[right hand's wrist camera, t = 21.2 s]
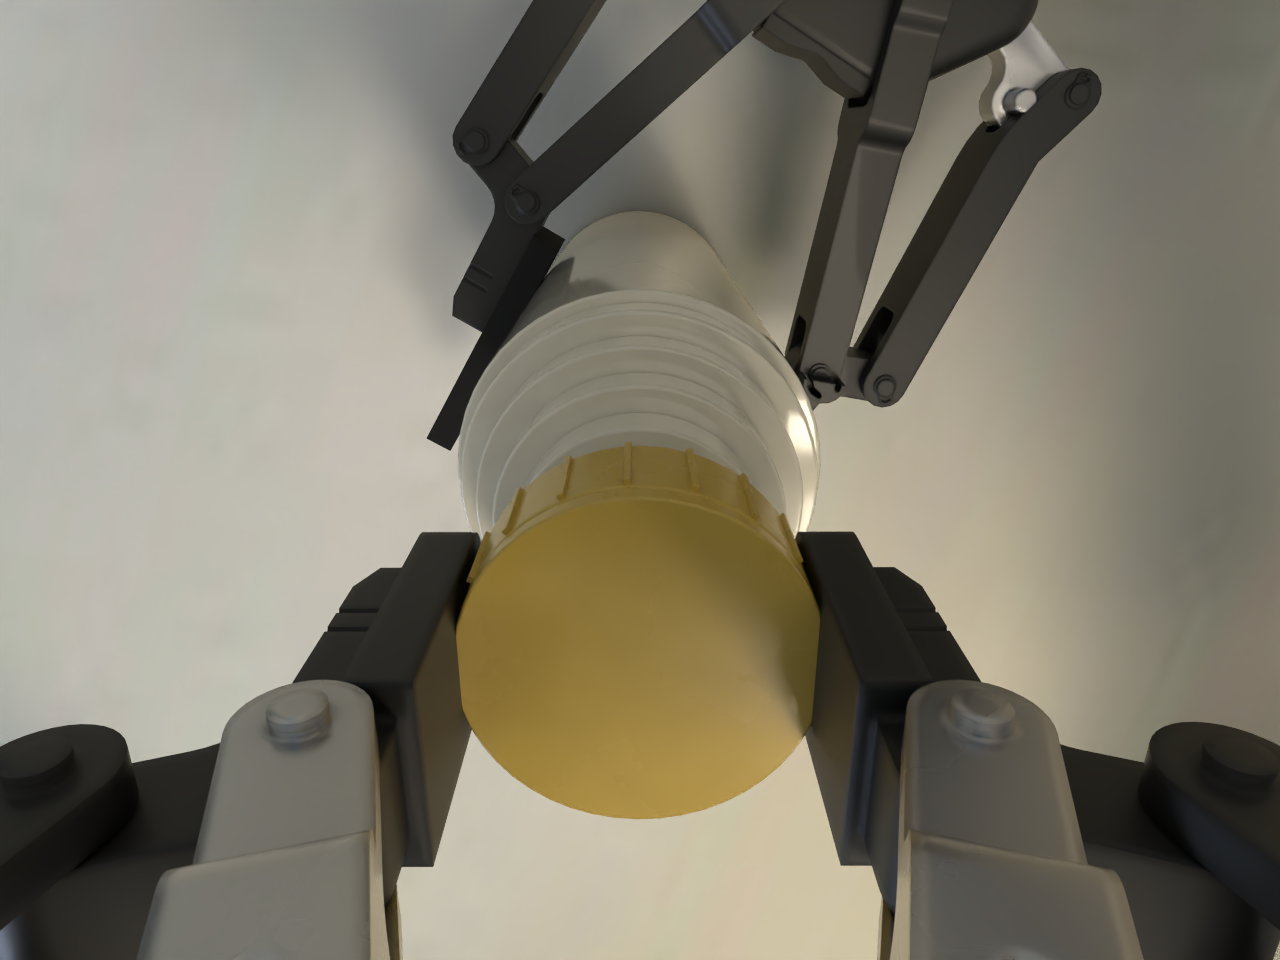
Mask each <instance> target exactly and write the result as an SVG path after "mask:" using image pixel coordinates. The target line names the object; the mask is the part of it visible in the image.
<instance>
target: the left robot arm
mask: <svg viewBox="0 0 1280 960" xmlns="http://www.w3.org/2000/svg"><path fill="white" fill-rule="evenodd" d="M605 2H606V0H533V2H532V3H531V5H530V7H529V8H528V10H527V12H526V13H525V15H524V16H523V18H522V20H521V21H520V23H519V25H518V26H517V28H516V29H515V31H514V33H513V34H512V36H511V38H510V39H509V41H508V43H507V44H506V46H505V47H504V49H503V51H502V52H501V54H500V56H499V57H498V59H497V60H496V62H495V64H494V65H493V67H492V69H491V70H490V72H489V74H488V75H487V77H486V78H485V80H484V82H483V83H482V85H481V87H480V88H479V90H478V91H477V93H476V95H475V96H474V98H473V100H472V101H471V103H470V105H469V106H468V108H467V109H466V111H465V113H464V114H463V116H462V118H461V119H460V121H459V122H458V124H457V126H456V128H455V131H454V133H453V146H454V149H455V151H456V154H457V155H458V156H459V157H460V158H461V159H462V160H463V162H465V163H468V164H469V165H470V166H471V167H472V169H473V170H474V171H475V172H476V173H477V175H478V176H479V177H480V178H481V179H482V180H483V182H484V183H485V184H486V185H487V187H488V188H489V189H490V191H491V193H492V195H493V198H494V203H495V212H494V216H493V219H492V222H491V224H490V226H489V228H488V230H487V232H486V234H485V236H484V238H483V240H482V242H481V244H480V246H479V248H478V249H477V251H476V253H475V255H474V257H473V259H472V261H471V264H470V266H469V267H468V269H467V271H466V273H465V275H464V278H463V279H462V281H461V283H460V285H459V287H458V289H457V291H456V293H455V295H454V300H453V314H452V316H454V317H456V318H457V319H459V320H461V321H463V322H465V323H466V324H468V325H470V326H472V327H474V328H475V329H477V330H479V331H481V332H482V334H481V336H480V338H479V340H478V341H477V343H476V345H475V347H474V349H473V351H472V353H471V355H470V357H469V359H468V360H467V362H466V364H465V366H464V368H463V370H462V372H461V374H460V376H459V378H458V380H457V381H456V383H455V385H454V387H453V389H452V391H451V393H450V395H449V397H448V399H447V400H446V402H445V404H444V406H443V408H442V410H441V412H440V414H439V416H438V418H437V420H436V421H435V423H434V425H433V427H432V429H431V431H430V433H429V435H428V437H427V439H429V440H431V441H433V442H434V443H436V444H438V445H440V446H442V447H444V448H446V449H448V450H451V449H452V447H453V445H454V443H455V442H456V440H457V438H458V436H459V435H460V431H461V427H462V423H463V419H464V415H465V411H466V408H467V406H468V403H469V401H470V398H471V395H472V393H473V390H474V388H475V387H476V385H477V383H478V381H479V380H480V378H481V376H482V374H483V373H484V371H485V369H486V368H487V366H488V364H489V363H490V361H491V360H492V358H493V357H494V355H495V354H496V352H497V351H498V349H499V347H500V346H501V344H502V343H503V341H504V340H505V338H506V337H507V335H508V334H509V332H510V331H511V329H512V327H513V326H514V324H515V323H516V321H517V320H518V318H519V317H520V315H521V314H522V312H523V310H524V309H525V307H526V306H527V304H528V303H529V301H530V300H531V298H532V297H533V295H534V294H535V292H536V290H537V289H538V287H539V286H540V284H541V283H542V281H543V279H544V278H545V276H546V274H547V272H548V270H549V268H550V266H551V265H552V263H553V261H554V259H555V257H556V255H557V253H558V252H559V250H560V248H561V246H562V244H563V242H564V240H565V239H563V238H562V237H560V236H558V235H557V234H555V233H553V232H552V231H550V230H548V229H547V228H545V227H543V226H544V224H545V222H546V220H547V218H548V216H549V214H550V212H552V211H553V210H554V209H555V208H556V207H557V206H558V205H559V204H560V203H561V202H563V201H564V200H565V199H566V198H567V197H568V196H569V195H570V194H571V193H573V192H574V191H575V190H576V189H577V188H578V187H579V186H580V185H581V184H583V183H584V182H585V181H586V180H587V179H588V178H589V177H590V176H591V175H593V174H594V173H595V172H596V171H597V170H598V169H599V168H600V167H601V166H603V165H604V164H605V163H606V162H607V161H608V160H609V159H610V158H611V157H613V156H614V155H615V154H616V153H617V152H618V151H619V150H620V149H621V148H623V147H624V146H625V145H626V144H627V143H628V142H629V141H630V140H631V139H633V138H634V137H635V136H636V135H637V134H638V133H639V132H640V131H641V130H643V129H644V128H645V127H646V126H647V125H648V124H649V123H650V122H651V121H652V120H654V119H655V118H656V117H657V116H658V115H659V114H660V113H661V112H662V111H664V110H665V109H666V108H667V107H668V106H669V105H670V104H671V103H672V102H674V101H675V100H676V99H677V98H678V97H679V96H680V95H681V94H682V93H684V92H685V91H686V90H687V89H688V88H689V87H690V86H691V85H692V84H694V83H695V82H696V81H697V80H698V79H699V78H700V77H701V76H702V75H704V74H705V73H706V72H707V71H708V70H709V69H710V68H711V67H712V66H714V65H715V64H716V63H717V62H718V61H719V60H720V59H721V58H722V57H724V56H725V55H726V54H727V53H728V52H729V51H730V50H731V49H732V48H734V47H735V46H736V45H737V44H738V43H739V42H740V41H741V40H743V39H744V38H745V37H746V36H747V35H748V34H749V33H750V32H751V31H754V33H753V35H752V36H753V37H754V38H756V39H757V40H759V41H760V42H762V43H763V44H765V45H766V46H768V47H769V48H771V49H772V50H774V51H775V52H778V53H782V54H785V55H788V56H791V57H795V58H798V59H801V60H803V61H805V62H806V63H807V65H808V66H809V67H810V68H811V69H812V71H813V72H814V73H815V74H816V75H817V77H818V78H819V79H820V80H821V81H822V83H823V84H825V85H826V86H828V87H829V88H831V89H832V90H834V91H835V92H836V93H838V94H839V95H841V96H842V97H844V98H845V100H844V104H843V108H842V112H841V116H840V120H839V125H838V143H837V147H836V151H835V155H834V159H833V163H832V167H831V171H830V175H829V179H828V183H827V187H826V191H825V195H824V199H823V203H822V207H821V211H820V215H819V219H818V223H817V227H816V231H815V235H814V239H813V243H812V247H811V251H810V255H809V259H808V263H807V267H806V271H805V275H804V279H803V283H802V287H801V291H800V295H799V299H798V303H797V307H796V311H795V315H794V319H793V323H792V327H791V331H790V335H789V339H788V343H787V347H786V351H785V358H786V360H787V361H788V363H789V365H790V366H791V368H792V369H793V371H794V372H795V374H796V375H797V377H798V378H799V380H800V382H801V384H802V386H803V388H804V390H805V392H806V394H807V397H808V399H809V401H810V404H811V408H812V411H813V410H814V409H815V408H816V407H817V405H818V404H819V403H829V402H832V401H834V400H836V399H837V398H839V397H840V396H842V397H849V398H854V399H860V400H866V401H869V402H870V403H871V404H873V405H874V406H879V407H887V406H891V405H893V404H894V403H896V402H898V401H899V399H900V398H901V397H902V396H903V394H904V393H905V391H906V389H907V388H908V386H909V384H910V382H911V381H912V379H913V377H914V375H915V374H916V372H917V370H918V369H919V367H920V365H921V363H922V362H923V360H924V358H925V356H926V355H927V353H928V351H929V350H930V348H931V346H932V344H933V343H934V341H935V339H936V337H937V336H938V334H939V332H940V331H941V329H942V327H943V325H944V324H945V322H946V320H947V318H948V317H949V315H950V313H951V312H952V310H953V308H954V306H955V305H956V303H957V301H958V299H959V298H960V296H961V294H962V293H963V291H964V289H965V287H966V286H967V284H968V282H969V280H970V279H971V277H972V275H973V273H974V272H975V270H976V268H977V267H978V265H979V263H980V261H981V260H982V258H983V256H984V254H985V253H986V251H987V249H988V248H989V246H990V244H991V242H992V241H993V239H994V237H995V235H996V234H997V232H998V230H999V229H1000V227H1001V225H1002V223H1003V222H1004V220H1005V218H1006V216H1007V215H1008V213H1009V211H1010V210H1011V208H1012V206H1013V204H1014V203H1015V201H1016V199H1017V197H1018V196H1019V194H1020V192H1021V191H1022V189H1023V187H1024V185H1025V184H1026V182H1027V180H1028V178H1029V177H1030V175H1031V173H1032V172H1033V170H1034V168H1035V166H1036V165H1037V163H1038V162H1039V161H1040V160H1041V159H1042V158H1043V157H1044V156H1045V155H1046V154H1047V153H1048V152H1049V151H1050V150H1051V149H1052V148H1054V147H1055V146H1056V145H1057V144H1058V143H1059V142H1060V141H1061V140H1062V139H1063V138H1064V137H1065V136H1066V135H1067V134H1069V133H1070V132H1071V131H1072V130H1073V129H1074V128H1075V127H1076V126H1077V125H1078V124H1079V123H1080V122H1081V121H1082V120H1084V119H1085V118H1086V117H1087V116H1088V115H1089V114H1090V113H1091V112H1092V111H1093V109H1094V108H1095V107H1096V106H1097V104H1098V102H1099V99H1100V96H1101V82H1100V80H1099V78H1098V76H1097V75H1096V74H1095V73H1094V72H1093V71H1091V70H1089V69H1084V68H1078V69H1071V70H1070V69H1069V68H1068V67H1067V66H1066V65H1065V64H1064V62H1063V61H1062V60H1061V58H1060V57H1059V56H1058V54H1057V53H1056V52H1055V51H1054V49H1053V48H1052V47H1051V45H1050V44H1049V43H1048V41H1047V40H1046V39H1045V37H1044V36H1043V35H1042V34H1041V32H1040V31H1039V30H1038V28H1037V27H1036V26H1035V24H1034V23H1033V22H1032V20H1031V19H1032V18H1033V15H1034V13H1035V11H1036V8H1037V4H1038V0H707V1H706V2H705V3H704V4H703V6H702V7H701V8H700V9H699V10H698V11H697V12H696V13H695V14H693V15H692V16H691V17H690V18H689V19H688V20H687V21H686V22H685V23H684V24H683V25H682V26H681V27H679V28H678V29H677V30H676V31H675V32H674V33H673V34H672V35H671V36H670V37H669V38H668V39H666V40H665V41H664V42H663V43H662V44H661V45H660V46H659V47H658V48H657V49H656V50H655V51H653V52H652V53H651V54H650V55H649V56H648V57H647V58H646V59H645V60H644V61H643V62H642V63H641V64H639V65H638V66H637V67H636V68H635V69H634V70H633V71H632V72H631V73H630V74H629V75H628V76H626V77H625V78H624V79H623V80H622V81H621V82H620V83H619V84H618V85H617V86H616V87H615V88H613V89H612V90H611V91H610V92H609V93H608V94H607V95H606V96H605V97H604V98H603V99H602V100H600V101H599V102H598V103H597V104H596V105H595V106H594V107H593V108H592V109H591V110H590V111H589V112H587V113H586V114H585V115H584V116H583V117H582V118H581V119H580V120H579V121H578V122H577V123H576V124H574V125H573V126H572V127H571V128H570V129H569V130H568V131H567V132H566V133H565V134H564V135H563V136H561V137H560V138H559V139H558V140H557V141H556V142H555V143H554V144H553V145H552V146H551V147H550V148H548V149H547V150H546V151H545V152H544V153H543V154H542V155H541V156H540V157H539V158H538V159H537V160H536V161H534V162H533V161H532V160H531V159H530V157H529V156H528V155H527V154H526V153H525V151H524V150H523V149H522V148H521V147H520V145H519V144H518V143H517V142H516V141H517V139H518V138H519V136H520V135H521V133H522V132H523V130H524V128H525V127H526V125H527V124H528V122H529V121H530V119H531V118H532V116H533V114H534V113H535V111H536V110H537V108H538V107H539V105H540V103H541V102H542V100H543V99H544V97H545V96H546V94H547V92H548V91H549V89H550V88H551V86H552V85H553V83H554V82H555V80H556V78H557V77H558V75H559V74H560V72H561V71H562V69H563V67H564V66H565V64H566V63H567V61H568V60H569V58H570V57H571V55H572V53H573V52H574V50H575V49H576V47H577V46H578V44H579V42H580V41H581V39H582V38H583V36H584V35H585V33H586V31H587V30H588V28H589V27H590V25H591V24H592V22H593V21H594V19H595V17H596V16H597V14H598V13H599V11H600V10H601V8H602V6H603V5H604V3H605ZM987 54H988V56H989V58H990V59H991V63H992V75H991V78H990V81H989V83H988V85H987V86H986V88H985V90H984V91H983V93H982V94H981V97H980V100H979V111H980V115H981V117H982V118H983V120H984V121H983V122H982V123H981V124H980V125H979V126H978V127H977V129H976V130H975V131H974V133H973V134H972V135H971V137H970V138H969V139H968V140H967V142H966V143H965V145H964V147H963V148H962V150H961V151H960V153H959V155H958V156H957V158H956V160H955V162H954V163H953V165H952V167H951V169H950V171H949V173H948V174H947V176H946V178H945V180H944V182H943V184H942V185H941V187H940V189H939V191H938V193H937V195H936V196H935V198H934V200H933V202H932V204H931V206H930V207H929V209H928V211H927V213H926V215H925V217H924V218H923V220H922V222H921V224H920V226H919V228H918V229H917V231H916V233H915V235H914V237H913V239H912V240H911V242H910V244H909V246H908V248H907V249H906V251H905V253H904V255H903V257H902V259H901V260H900V262H899V264H898V266H897V268H896V270H895V271H894V273H893V275H892V277H891V279H890V281H889V282H888V284H887V286H886V288H885V290H884V292H883V293H882V295H881V297H880V299H879V301H878V303H877V304H876V306H875V308H874V310H873V312H872V314H871V315H870V317H869V319H868V321H867V323H866V325H865V326H864V328H863V330H862V332H861V334H860V335H859V337H858V339H857V341H856V343H855V345H854V346H853V347H849V346H850V342H851V338H852V335H853V331H854V328H855V324H856V320H857V317H858V313H859V310H860V306H861V302H862V299H863V295H864V291H865V288H866V284H867V281H868V277H869V273H870V270H871V266H872V263H873V259H874V255H875V252H876V248H877V244H878V241H879V237H880V234H881V230H882V226H883V223H884V219H885V216H886V212H887V208H888V205H889V201H890V197H891V194H892V190H893V187H894V183H895V179H896V176H897V172H898V169H899V165H900V161H901V158H902V155H903V152H904V150H905V148H906V146H907V145H908V144H909V142H910V140H911V138H912V136H913V134H914V131H915V128H916V124H917V121H918V117H919V114H920V110H921V107H922V103H923V99H924V96H925V92H926V89H927V85H928V81H930V80H933V79H935V78H937V77H939V76H941V75H943V74H946V73H948V72H950V71H952V70H954V69H956V68H959V67H961V66H963V65H965V64H967V63H970V62H972V61H974V60H976V59H978V58H980V57H983V56H985V55H987Z"/></svg>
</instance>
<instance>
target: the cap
mask: <svg viewBox="0 0 1280 960" xmlns="http://www.w3.org/2000/svg"><path fill="white" fill-rule="evenodd" d="M802 562H803V559H802V556H801V553H800V551H799V548H798V546H797V543H796V540H795V538H794V535H793V533H792V530H791V527H790V525H789V522H788V520H787V517H786V516H785V514H784V513H782V514H780V515H779V514H778V512H777V511H776V509H775V508H774V507H773V506H772V505H771V504H770V502H769V501H768V500H767V499H766V498H765V497H764V495H762V494H761V493H760V492H759V491H758V490H757V489H756V488H755V487H753V486H752V485H751V484H750V483H749V480H748V477H747V475H745V474H744V473H742V474H741V475H740V476H739V475H737V474H736V473H734V472H733V471H731V470H730V469H728V468H726V467H724V466H722V465H720V464H718V463H716V462H714V461H712V460H710V459H707V458H704V457H702V456H698V455H696V454H694V452H693V449H690V448H687V449H686V452H685V451H680V450H675V449H671V448H665V447H652V446H632V443H631V442H625V447H617V448H611V449H605V450H599V451H595V452H592V453H589V454H585V455H582V456H579V457H576V458H574V459H573V458H572V456H571V455H570V456H567V457H565V460H564V463H562V464H560V465H558V466H556V467H554V468H553V469H551V470H549V471H548V472H546V473H544V474H543V475H541V476H540V477H538V478H537V479H535V480H534V481H533V482H532V483H531V484H529V485H528V486H527V487H526V488H524V489H522V488H521V487H519V488H518V489H517V490H516V491H515V494H514V497H513V500H512V502H511V503H510V504H509V505H508V506H507V507H506V509H505V510H504V511H503V513H502V514H501V516H500V517H499V519H498V520H497V521H496V523H495V525H494V527H493V529H492V531H491V533H490V532H487V531H486V532H485V534H484V536H483V539H482V541H481V544H480V547H479V549H478V552H477V554H476V557H475V560H474V562H473V565H472V567H471V570H470V572H469V575H468V578H467V580H466V582H468V583H470V586H469V589H468V592H467V594H466V597H465V600H464V602H463V605H462V608H461V611H460V614H459V617H458V620H457V623H456V641H457V653H458V664H459V676H460V687H461V699H462V708H463V712H464V714H465V716H466V718H467V721H468V723H469V725H470V727H471V729H472V730H473V732H474V733H475V735H476V736H477V738H478V739H479V741H480V743H481V744H482V746H483V747H484V748H485V749H486V750H487V751H488V753H489V754H490V755H491V756H492V757H493V758H494V760H495V761H496V762H497V763H498V764H499V765H501V766H502V767H503V768H504V769H505V770H506V771H507V772H508V773H509V774H511V775H512V776H513V777H514V778H516V779H517V780H519V781H520V782H521V783H523V784H524V785H526V786H527V787H529V788H530V789H532V790H534V791H535V792H537V793H539V794H541V795H543V796H545V797H546V798H548V799H550V800H553V801H555V802H558V803H560V804H563V805H565V806H568V807H570V808H574V809H577V810H581V811H584V812H588V813H591V814H597V815H602V816H608V817H614V818H628V819H652V818H665V817H672V816H679V815H684V814H688V813H692V812H696V811H700V810H704V809H707V808H709V807H712V806H715V805H717V804H720V803H723V802H725V801H727V800H729V799H731V798H733V797H735V796H737V795H739V794H741V793H743V792H745V791H747V790H748V789H750V788H751V787H753V786H754V785H756V784H757V783H759V782H761V781H762V780H763V779H765V778H766V777H767V776H768V775H769V774H771V773H772V772H773V771H774V770H775V769H777V768H778V767H779V766H780V765H781V764H782V763H783V762H784V761H785V760H786V759H787V757H788V756H789V755H790V754H791V753H792V752H793V751H794V750H795V748H796V747H797V746H798V744H799V743H800V741H801V740H802V738H803V737H804V736H805V734H806V733H807V731H808V729H809V727H810V725H811V722H812V711H813V699H814V688H815V676H816V664H817V652H818V641H819V629H820V608H819V606H818V603H817V601H816V598H815V596H814V593H813V590H812V587H811V585H810V582H809V580H808V577H807V574H806V572H805V569H804V566H803V564H802Z"/></svg>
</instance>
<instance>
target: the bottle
mask: <svg viewBox="0 0 1280 960" xmlns="http://www.w3.org/2000/svg"><path fill="white" fill-rule="evenodd" d="M625 442H631V443H632V446H652V447H665V448H671V449H675V450H680V451H685V452H686V449H687V448H690V449H693V452H694V454H696V455H698V456H702V457H704V458H707V459H710V460H712V461H714V462H716V463H718V464H720V465H722V466H724V467H726V468H728V469H730V470H731V471H733V472H734V473H736V474H737V475H739V476H740V475H741V474H742V473H744V474H745V475H747V477H748V480H749V483H750V484H751V485H752V486H753V487H755V488H756V489H757V490H758V491H759V492H760V493H761V494H762V495H764V497H765V498H766V499H767V500H768V501H769V502H770V504H771V505H772V506H773V507H774V508H775V509H776V511H777V512H778V514H779V515H780V514H782V513H784V514H785V516H786V517H787V520H788V522H789V525H790V527H791V530H792V533H793V535H794V538H795V537H796V534H797V533H798V532H807V531H808V529H809V526H810V523H811V519H812V516H813V512H814V508H815V504H816V495H817V489H818V481H819V472H820V443H819V437H818V431H817V425H816V420H815V417H814V414H813V411H812V408H811V404H810V401H809V399H808V397H807V394H806V392H805V390H804V388H803V386H802V384H801V382H800V380H799V378H798V377H797V375H796V374H795V372H794V371H793V369H792V368H791V366H790V365H789V363H788V361H787V360H786V358H785V357H784V355H783V354H782V352H781V351H780V349H779V348H778V346H777V345H776V343H775V342H774V340H773V339H772V337H771V336H770V334H769V333H768V331H767V330H766V328H765V327H764V325H763V324H762V322H761V321H760V319H759V318H758V316H757V315H756V313H755V312H754V310H753V309H752V307H751V306H750V304H749V303H748V301H747V300H746V298H745V297H744V295H743V294H742V292H741V291H740V289H739V288H738V286H737V285H736V283H735V282H734V280H733V279H732V277H731V276H730V274H729V273H728V271H727V270H726V268H725V267H724V265H723V264H722V262H721V260H720V259H719V257H718V256H717V254H716V253H715V252H714V250H713V249H712V247H711V246H710V245H709V244H708V242H707V241H706V240H705V239H704V238H703V237H702V236H701V235H700V234H698V233H697V232H696V231H695V230H694V229H692V228H691V227H689V226H688V225H686V224H685V223H683V222H681V221H679V220H677V219H674V218H672V217H669V216H666V215H663V214H660V213H654V212H648V211H630V212H622V213H618V214H613V215H610V216H607V217H605V218H602V219H600V220H598V221H596V222H594V223H592V224H590V225H589V226H587V227H586V228H584V229H583V230H582V231H580V232H579V233H578V234H577V235H576V236H575V237H574V238H573V239H572V240H571V241H570V242H569V243H568V244H567V245H566V247H565V248H564V249H563V251H562V252H561V253H560V255H559V257H558V258H557V260H556V261H555V263H554V264H553V266H552V267H551V269H550V270H549V272H548V274H547V275H546V277H545V278H544V280H543V281H542V283H541V284H540V286H539V287H538V289H537V290H536V292H535V294H534V295H533V297H532V298H531V300H530V301H529V303H528V304H527V306H526V307H525V309H524V310H523V312H522V314H521V315H520V317H519V318H518V320H517V321H516V323H515V324H514V326H513V327H512V329H511V331H510V332H509V334H508V335H507V337H506V338H505V340H504V341H503V343H502V344H501V346H500V347H499V349H498V351H497V352H496V354H495V355H494V357H493V358H492V360H491V361H490V363H489V364H488V366H487V368H486V369H485V371H484V373H483V374H482V376H481V378H480V380H479V381H478V383H477V385H476V387H475V388H474V390H473V393H472V395H471V398H470V401H469V403H468V406H467V408H466V411H465V415H464V419H463V423H462V427H461V431H460V439H459V450H458V467H459V480H460V486H461V493H462V499H463V505H464V510H465V515H466V518H467V521H468V524H469V527H470V530H471V532H477V533H478V534H479V536H480V540H481V541H482V539H483V536H484V534H485V532H486V531H487V532H490V533H491V531H492V529H493V527H494V525H495V523H496V521H497V520H498V519H499V517H500V516H501V514H502V513H503V511H504V510H505V509H506V507H507V506H508V505H509V504H510V503H511V502H512V500H513V497H514V494H515V491H516V490H517V489H518V488H519V487H521V488H522V489H524V488H526V487H527V486H528V485H529V484H531V483H532V482H533V481H534V480H535V479H537V478H538V477H540V476H541V475H543V474H544V473H546V472H548V471H549V470H551V469H553V468H554V467H556V466H558V465H560V464H562V463H564V460H565V457H567V456H570V455H571V456H572V458H573V459H574V458H576V457H579V456H582V455H585V454H589V453H592V452H595V451H599V450H605V449H611V448H617V447H625Z"/></svg>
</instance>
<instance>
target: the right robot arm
mask: <svg viewBox="0 0 1280 960" xmlns="http://www.w3.org/2000/svg"><path fill="white" fill-rule="evenodd" d="M795 540H796V543H797V546H798V548H799V551H800V553H801V556H802V559H803V562H802V564H803V566H804V569H805V572H806V574H807V577H808V580H809V582H810V585H811V587H812V590H813V593H814V596H815V598H816V601H817V603H818V606H819V608H820V629H819V641H818V652H817V664H816V676H815V688H814V699H813V711H812V722H811V725H810V727H809V729H808V731H807V733H806V734H805V736H806V740H807V743H808V747H809V751H810V754H811V758H812V762H813V765H814V769H815V773H816V776H817V780H818V784H819V787H820V791H821V795H822V798H823V802H824V806H825V809H826V813H827V817H828V820H829V824H830V828H831V831H832V835H833V839H834V842H835V846H836V850H837V853H838V857H839V861H840V864H841V865H843V866H872V867H873V870H874V874H875V877H876V880H877V883H878V886H879V889H880V892H881V894H882V900H881V908H880V915H879V932H878V952H877V960H1273V958H1274V955H1275V952H1276V949H1277V947H1278V944H1279V941H1280V746H1279V745H1277V744H1275V743H1273V742H1271V741H1268V740H1266V739H1264V738H1261V737H1259V736H1257V735H1254V734H1251V733H1248V732H1245V731H1242V730H1239V729H1236V728H1232V727H1228V726H1223V725H1218V724H1212V723H1203V722H1181V723H1175V724H1171V725H1168V726H1165V727H1162V728H1161V729H1159V730H1158V731H1156V732H1155V733H1154V735H1153V736H1152V737H1151V740H1150V743H1149V747H1148V751H1147V755H1146V759H1145V763H1143V762H1138V761H1133V760H1128V759H1123V758H1118V757H1113V756H1108V755H1103V754H1098V753H1093V752H1088V751H1084V750H1079V749H1075V748H1071V747H1067V746H1064V745H1061V744H1060V743H1059V738H1058V734H1057V731H1056V728H1055V726H1054V724H1053V723H1052V721H1051V720H1050V718H1049V717H1048V716H1047V715H1046V714H1045V713H1044V712H1043V711H1042V710H1041V709H1040V708H1039V707H1038V706H1036V705H1035V704H1034V703H1032V702H1031V701H1029V700H1027V699H1026V698H1024V697H1022V696H1020V695H1018V694H1016V693H1014V692H1012V691H1009V690H1007V689H1004V688H1002V687H998V686H995V685H991V684H988V683H983V682H981V681H980V679H979V677H978V676H977V674H976V673H975V671H974V669H973V668H972V666H971V665H970V663H969V661H968V660H967V658H966V657H965V655H964V653H963V652H962V650H961V648H960V647H959V645H958V644H957V642H956V640H955V639H954V637H953V636H952V634H951V632H950V631H947V626H946V624H945V623H944V621H943V619H942V618H941V616H940V615H939V613H938V612H935V606H934V605H933V603H932V602H931V600H930V598H929V597H928V595H927V594H926V592H925V590H924V589H923V587H922V586H921V585H920V584H918V583H917V582H915V581H914V580H912V579H911V578H909V577H908V576H906V575H905V574H903V573H902V572H901V571H899V570H898V569H896V568H895V567H873V566H872V564H871V562H870V561H869V559H868V557H867V555H866V553H865V551H864V549H863V548H862V546H861V544H860V542H859V540H858V538H857V536H856V535H855V533H854V532H798V533H797V534H796V537H795ZM480 544H481V540H480V536H479V534H478V533H477V532H422V533H421V534H420V535H419V537H418V539H417V541H416V543H415V544H414V546H413V548H412V550H411V552H410V554H409V555H408V557H407V559H406V561H405V563H404V565H403V566H402V568H380V569H378V570H377V571H375V572H374V573H372V574H371V575H370V576H368V577H367V578H365V579H364V580H362V581H361V582H359V583H358V584H356V585H355V586H353V588H352V589H351V591H350V592H349V594H348V596H347V597H346V599H345V600H344V602H343V603H342V605H341V607H340V608H339V613H336V615H335V616H334V618H333V619H332V621H331V622H330V624H329V626H328V631H327V632H324V634H323V635H322V637H321V638H320V640H319V642H318V643H317V645H316V646H315V648H314V649H313V651H312V653H311V654H310V656H309V657H308V659H307V661H306V662H305V664H304V665H303V667H302V669H301V670H300V672H299V673H298V675H297V676H296V678H295V680H294V681H293V683H292V684H289V685H285V686H282V687H278V688H276V689H273V690H271V691H268V692H266V693H264V694H262V695H260V696H258V697H256V698H254V699H253V700H251V701H249V702H248V703H246V704H245V705H244V706H243V707H241V708H240V709H239V710H238V711H237V712H236V713H235V714H234V715H233V716H232V717H231V718H230V720H229V721H228V723H227V724H226V726H225V728H224V731H223V734H222V738H221V743H218V744H215V745H212V746H209V747H206V748H202V749H198V750H194V751H190V752H185V753H180V754H175V755H170V756H165V757H160V758H156V759H151V760H146V761H141V762H136V763H132V762H131V759H130V755H129V751H128V747H127V744H126V741H125V739H124V737H123V736H122V735H121V734H120V733H118V732H117V731H115V730H114V729H111V728H108V727H105V726H99V725H90V724H78V725H67V726H61V727H55V728H50V729H46V730H42V731H38V732H35V733H32V734H29V735H26V736H23V737H21V738H18V739H16V740H13V741H11V742H9V743H7V744H5V745H3V746H1V747H0V960H403V951H402V931H401V915H400V907H399V900H398V892H397V884H396V883H397V880H398V876H399V873H400V870H401V867H433V866H434V862H435V858H436V855H437V851H438V848H439V844H440V841H441V837H442V833H443V830H444V826H445V823H446V819H447V816H448V812H449V809H450V805H451V801H452V798H453V794H454V791H455V787H456V784H457V780H458V776H459V773H460V769H461V766H462V762H463V759H464V755H465V751H466V748H467V744H468V741H469V737H470V734H471V730H472V729H471V727H470V725H469V723H468V721H467V718H466V716H465V714H464V712H463V708H462V699H461V687H460V676H459V664H458V653H457V641H456V623H457V620H458V617H459V614H460V611H461V608H462V605H463V602H464V600H465V597H466V594H467V592H468V589H469V586H470V583H468V582H466V580H467V578H468V575H469V572H470V570H471V567H472V565H473V562H474V560H475V557H476V554H477V552H478V549H479V547H480Z"/></svg>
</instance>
